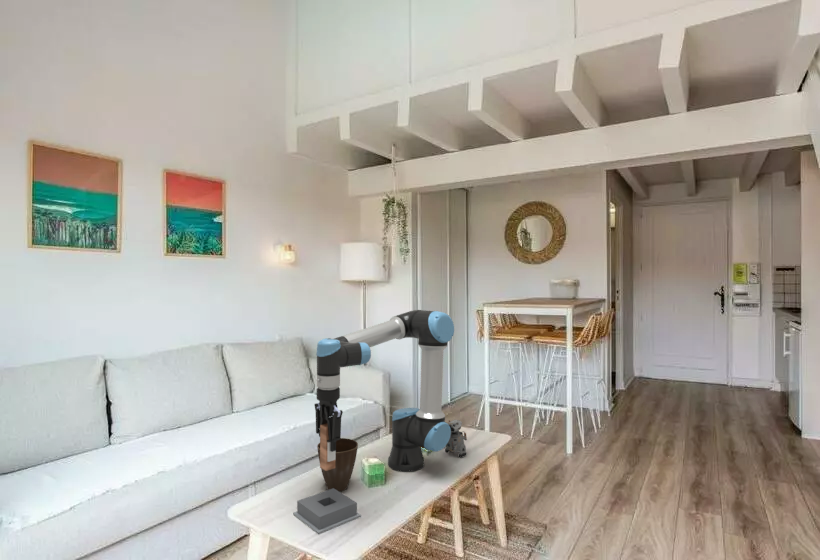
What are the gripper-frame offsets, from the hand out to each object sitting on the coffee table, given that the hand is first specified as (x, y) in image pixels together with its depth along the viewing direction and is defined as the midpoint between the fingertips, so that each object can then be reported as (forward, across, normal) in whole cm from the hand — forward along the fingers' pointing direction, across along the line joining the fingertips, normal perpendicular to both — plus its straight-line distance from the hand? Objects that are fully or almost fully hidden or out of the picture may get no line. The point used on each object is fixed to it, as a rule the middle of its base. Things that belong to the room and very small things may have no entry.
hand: (327, 458), depth 157 cm
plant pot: (+19, -15, +14) cm, 28 cm away
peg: (+3, 0, 0) cm, 3 cm away
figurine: (+19, -8, +69) cm, 72 cm away
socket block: (+19, 0, 0) cm, 19 cm away
